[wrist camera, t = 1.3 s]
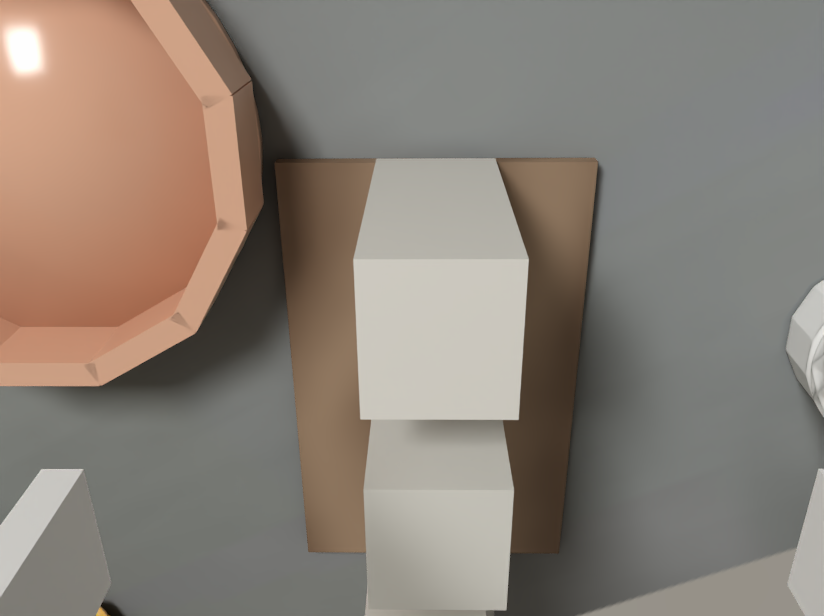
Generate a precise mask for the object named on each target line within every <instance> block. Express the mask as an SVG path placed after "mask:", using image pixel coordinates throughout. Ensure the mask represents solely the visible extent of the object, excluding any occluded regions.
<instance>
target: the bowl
mask: <svg viewBox="0 0 824 616" xmlns="http://www.w3.org/2000/svg"><path fill="white" fill-rule="evenodd" d="M250 80H251V78H250V76H249V75H248V73H247V72H246V70H245V68H244V66H243V64H242V61H241V59H240V57H239V54H238V52H237V50H236V48H235V46H234V44H233V42H232V41H231V39H230V37H229V35H228V34H227V32H226V30H225V28H224V27H223V25H222V23H221V21H220V20H219V18H218V17H217V15H216V14H215V13H214V11H213V10H212V9H211V7H210V6H209V4H208V3H207V2H206V0H0V386H100V385H101V386H102V385H104V384H105V383H107V382H109V381H111V380H113V379H114V378H116V377H118V376H120V375H122V374H123V373H125V372H127V371H129V370H131V369H132V368H134V367H136V366H138V365H140V364H141V363H143V362H145V361H147V360H148V359H150V358H152V357H154V356H156V355H157V354H159V353H161V352H163V351H165V350H166V349H168V348H170V347H172V346H174V345H175V344H177V343H179V342H181V341H183V340H184V339H186V338H188V337H190V336H192V335H193V334H195V333H196V332H197V330H198V329H199V327H200V325H201V324H202V322H203V320H204V319H205V317H206V315H207V314H208V312H209V310H210V309H211V307H212V305H213V303H214V302H215V300H216V298H217V296H218V294H219V292H220V291H221V289H222V287H223V285H224V283H225V281H226V279H227V277H228V275H229V273H230V271H231V269H232V267H233V265H234V263H235V261H236V259H237V257H238V255H239V253H240V251H241V249H242V248H243V246H244V244H245V242H246V239H247V237H248V235H249V233H250V231H251V229H252V227H253V225H254V223H255V221H256V219H257V217H258V215H259V213H260V211H261V209H262V207H263V204H264V200H263V190H262V175H263V143H262V133H261V127H260V121H259V115H258V109H257V105H256V102H255V98H254V95H253V85H252V81H250Z"/></svg>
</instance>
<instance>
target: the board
mask: <svg viewBox="0 0 824 616" xmlns="http://www.w3.org/2000/svg"><path fill="white" fill-rule="evenodd" d="M390 159H418V158H390ZM495 159H496V162H497V165H498V168H499V171H500V174H501V177H502V180H503V183H504V186H505V189H506V192H507V195H508V198H509V201H510V204H511V207H512V210H513V213H514V216H515V219H516V222H517V225H518V228H519V231H520V234H521V237H522V240H523V243H524V246H525V249H526V252H527V255H528V258H529V264H528V279H527V295H526V311H525V327H524V342H523V358H522V374H521V389H520V405H519V420H503V426H504V432H505V438H506V444H507V450H508V456H509V463H510V469H511V475H512V481H513V487H514V499H513V515H512V530H511V546H510V553H559V546H560V536H561V526H562V516H563V506H564V496H565V486H566V476H567V466H568V456H569V446H570V436H571V426H572V417H573V407H574V397H575V387H576V377H577V367H578V357H579V347H580V337H581V327H582V317H583V307H584V297H585V287H586V277H587V267H588V257H589V247H590V237H591V227H592V217H593V207H594V197H595V187H596V177H597V167H598V161H597V160H596V159H595V158H495ZM375 162H376V159H277V160H276V162H275V174H276V186H277V197H278V209H279V220H280V231H281V243H282V254H283V266H284V277H285V289H286V300H287V312H288V323H289V335H290V346H291V358H292V369H293V381H294V392H295V403H296V415H297V426H298V438H299V449H300V461H301V472H302V484H303V495H304V507H305V518H306V530H307V541H308V552H366V537H365V514H364V492H363V489H364V480H365V471H366V462H367V454H368V445H369V436H370V427H371V420H364V419H360V401H359V378H358V355H357V333H356V310H355V287H354V265H353V258H354V254H355V250H356V245H357V241H358V237H359V232H360V228H361V223H362V219H363V215H364V210H365V206H366V202H367V197H368V193H369V189H370V184H371V180H372V175H373V171H374V167H375Z"/></svg>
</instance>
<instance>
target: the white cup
mask: <svg viewBox="0 0 824 616" xmlns="http://www.w3.org/2000/svg"><path fill="white" fill-rule="evenodd" d="M786 352H787V354H788V357H789V360H790V362H791V365H792V368H793V370H794V373H795V376H796V378H797V379H798V381H799V382H800V383H801V385H802V386H803V387H804V389H805V390H806V391H807V392H808V394H809V395H810V396H811V398H812V399H813V400H814V402H815V404H816V406H817V408H818V409H819V411H820V413H821V414H822V416H823V417H824V280H822V281H821V282H819V283H818V284H816V285H815V286H814V287H813V288H812V289H811V291H810V292H809V294H808V295H807V296H806V298H805V299H804V300H803V302H802V303H801V304H800V306H799V307H798V309H797V310H796V311H795V313H794V314H793V316H792V318H791V323H790V328H789V334H788V339H787V344H786Z"/></svg>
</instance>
